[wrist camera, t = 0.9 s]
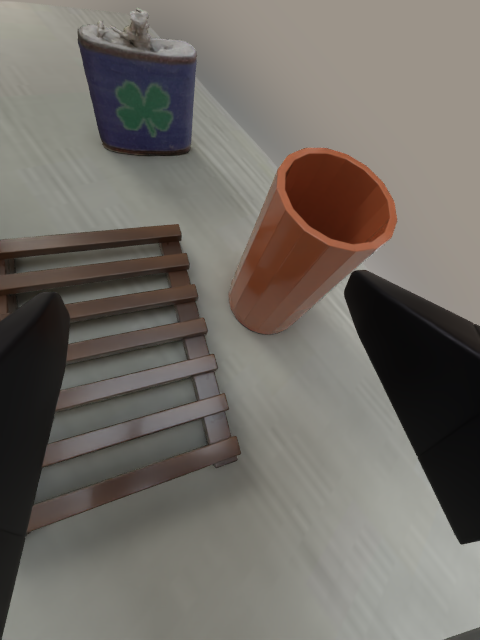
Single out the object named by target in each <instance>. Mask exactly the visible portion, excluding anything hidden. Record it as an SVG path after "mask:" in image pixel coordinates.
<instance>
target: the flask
mask: <svg viewBox="0 0 480 640" xmlns="http://www.w3.org/2000/svg"><path fill="white" fill-rule="evenodd" d="M136 11H138V12H135V11H133V12H130V14H131V25H128V26H126V27H125V28H124V31H121V30H119V29H117V28H116V27H114V26H111V25H110V27H111V28H112V29H111V28H107V27H105V26H104V22H103V21H101V20H100V21H99V22H98V23H97V25H94V24H89V25H83V26H82V27H80V28H79V29H78V44H79V47H80V52H81V56H82V60H83V66H84V70H85V74H86V78H87V82H88V85H89V90H90V96H91V100H92V103H93V107H94V113H95V117H96V121H97V126H98V130H99V133H100V137H101V140H102V142H103V146H104V147H105V148H107V149H109V150H110V151H115V152H119V153H127V154H135V155H179V154H182V153H186V152H188V151H189V149H190V146H191V135H192V117H193V101H194V87H195V72H196V57H197V53H196V50H195V49H194V48H193V46H191V45H190V44H189V43H188V42H185V41H182V40H169V39H160V38H151V36H150V34H149V33H148V30H147V28H149V24H148V21H147V19H148V18H149V14H148V13H147V12H146V11H143V10H141V9H140V8H137V9H136Z"/></svg>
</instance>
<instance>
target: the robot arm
mask: <svg viewBox="0 0 480 640" xmlns="http://www.w3.org/2000/svg"><path fill="white" fill-rule="evenodd" d="M344 297H345V300H346V303H347V305H348V308H349V311H350V314H351V317H352V320H353V322H354V325H355V328H356V331H357V333H358V335H359V338H360V340H361V342H362V344H363V346H364V348H365V350H366V352H367V354H368V356H369V358H370V360H371V363H372V365H373V367H374V369H375V371H376V373H377V375H378V377H379V379H380V381H381V383H382V385H383V387H384V389H385V391H386V393H387V395H388V398H389V400H390V402H391V404H392V406H393V408H394V410H395V412H396V414H397V416H398V418H399V420H400V422H401V424H402V426H403V428H404V430H405V432H406V435H407V437H408V439H409V441H410V443H411V445H412V447H413V449H414V451H415V453H416V455H417V456H418V460H419V462H420V464H421V466H422V468H423V470H424V472H425V474H426V476H427V478H428V480H429V482H430V484H431V486H432V488H433V490H434V493H435V495H436V497H437V499H438V501H439V503H440V505H441V507H442V509H443V511H444V513H445V515H446V517H447V519H448V521H449V523H450V526H451V528H452V530H453V532H454V534H455V536H456V537H457V539H458V541H459V543H460V544H461V545H462V544H467V543H471V542H476V541H480V326H478V325H476V324H473V323H472V322H470V321H468V320H466V319H464V318H462V317H460V316H458V315H456V314H454V313H452V312H450V311H448V310H446V309H444V308H442V307H440V306H438V305H436V304H434V303H432V302H430V301H428V300H426V299H424V298H422V297H420V296H418V295H415V294H413V293H411V292H409V291H407V290H405V289H403V288H401V287H399V286H397V285H395V284H393V283H391V282H389V281H387V280H385V279H383V278H381V277H379V276H377V275H375V274H373V273H371V272H369V271H367V270H357V271H353V272H352V273H351V276H350V278H349V280H348V283H347V285H346V288H345V291H344ZM69 328H70V315H69V312H68V310H67V308H66V306H65V304H64V303H63V301H62V299H61V297H60V295H59V294H58V293H57V292H42V293H39V294H37V295H36V296H34V297H33V298H32V299H30V300H29V301H28V302H26V303H25V304H23V305H22V306H21V307H19V308H18V309H17V310H15V311H14V312H12V313H11V314H10V315H8V316H7V317H6V318H4V319H3V320H1V321H0V640H2V635H3V631H4V627H5V623H6V618H7V614H8V610H9V606H10V602H11V597H12V593H13V589H14V585H15V580H16V576H17V572H18V568H19V564H20V559H21V555H22V551H23V547H24V542H25V536H26V533H27V529H28V524H29V520H30V516H31V512H32V507H33V503H34V499H35V495H36V491H37V486H38V482H39V478H40V474H41V469H42V465H43V461H44V457H45V452H46V448H47V444H48V440H49V436H50V431H51V427H52V423H53V419H54V414H55V410H56V406H57V402H58V397H59V393H60V389H61V385H62V380H63V376H64V372H65V367H66V359H67V349H68V339H69ZM444 640H480V627H479V628H476V629H473V630H470V631H467V632H464V633H461V634H458V635H455V636H452V637H450V638H447V639H444Z"/></svg>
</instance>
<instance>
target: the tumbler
mask: <svg viewBox="0 0 480 640" xmlns="http://www.w3.org/2000/svg"><path fill="white" fill-rule="evenodd" d="M396 223H397V215H396V209H395V203H394V200H393V198H392V197H391V195H390V193H389V191H388V190H387V188H386V187H385V184H384V183H383V182H382V181H381V180H380V179H379V178H378V177H377V176H376V175H375V174H374V173H373V172H372V171H371V170H370V169H369V168H368V167H367V166H366V165H364V164H362V163H361V162H359V161H357V160H355V159H354V158H352V157H351V156H349V155H347V154H344V153H341V152H338V151H334V150H331V149H328V148H304V149H301V150H299V151H297V152H294V153H292V154H290V155H288V156H287V157H286V159H285V160H284V161H283V163H282V164H281V166H280V167H279V168H278V170H277V173H276V175H275V178H274V180H273V182H272V185H271V187H270V190H269V192H268V195H267V197H266V199H265V202H264V204H263V207H262V209H261V212H260V214H259V216H258V219H257V221H256V224H255V226H254V229H253V231H252V233H251V236H250V238H249V241H248V243H247V246H246V248H245V251H244V253H243V255H242V258H241V260H240V263H239V265H238V268H237V270H236V272H235V275H234V277H233V280H232V282H231V286H230V290H229V303H230V307H231V310H232V312H233V314H234V315H235V317H236V318H237V319H238V321H239V322H240V323H241V324H243V325H244V326H245V327H247V328H248V329H250V330H252V331H254V332H257V333H261V334H276V333H280V332H282V331H284V330H286V329H287V328H289V327H290V326H291V325H292V324H293V323H295V322H296V321H297V320H298V319H299V318H300V317H302V316H303V315H304V314H305V313H306V312H307V311H308V310H310V309H311V308H312V307H313V306H314V305H315V304H316V303H318V302H319V301H320V300H321V299H322V298H323V297H324V296H326V295H327V294H328V293H329V292H330V291H331V290H332V289H334V288H335V287H336V286H337V285H338V284H339V283H340V282H342V281H343V280H344V279H345V278H346V277H347V276H348V275H350V274H351V273H352V272H353V271H354V270H355V269H356V268H358V267H359V266H360V265H361V264H362V263H363V262H364V261H366V260H367V259H368V258H369V257H370V256H371V255H372V254H374V253H375V252H376V251H377V250H378V249H379V248H380V247H382V246H383V245H384V244H385V243H386V242H387V241H388V240H390V239H391V237H392V235H393V231H394V229H395V226H396Z"/></svg>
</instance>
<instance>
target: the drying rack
mask: <svg viewBox="0 0 480 640" xmlns="http://www.w3.org/2000/svg"><path fill="white" fill-rule="evenodd" d="M181 236H182V235H181V231H180V227H179V224H174V225H163V226H151V227H140V228H128V229H117V230H105V231H94V232H82V233H71V234H59V235H48V236H36V237H25V238H13V239H2V240H0V321H1V320H3V319H4V318H6V317H7V316H8V315H10V314H11V313H12V312H14V311H15V310H17V295H16V293H23V292H30V291H37V290H45V289H52V288H59V287H66V286H73V285H81V284H88V283H95V282H102V281H109V280H117V279H124V278H131V277H138V276H146V275H153V274H160V273H166V275H167V279H168V283H169V287H170V288H167V289H160V290H154V291H148V292H141V293H135V294H128V295H122V296H116V297H109V298H103V299H96V300H90V301H84V302H77V303H71V304H65V306H66V308H67V310H68V312H69V315H70V323H72V322H78V321H83V320H89V319H95V318H100V317H106V316H112V315H118V314H123V313H129V312H135V311H140V310H146V309H152V308H158V307H163V306H169V305H174V308H175V312H176V316H177V320H178V323H173V324H168V325H163V326H158V327H153V328H148V329H143V330H137V331H132V332H127V333H122V334H117V335H112V336H107V337H102V338H97V339H92V340H86V341H81V342H76V343H71V344H68V349H67V359H66V364H71V363H76V362H80V361H85V360H90V359H94V358H99V357H104V356H108V355H113V354H117V353H122V352H127V351H131V350H136V349H141V348H145V347H150V346H155V345H159V344H164V343H168V342H173V341H178V340H182V341H183V345H184V349H185V353H186V357H187V360H185V361H181V362H177V363H173V364H169V365H165V366H160V367H156V368H152V369H148V370H144V371H140V372H135V373H131V374H127V375H123V376H119V377H114V378H110V379H106V380H102V381H98V382H94V383H89V384H85V385H81V386H77V387H73V388H69V389H64V390H60V393H59V397H58V402H57V406H56V410H55V413H56V412H60V411H64V410H67V409H71V408H75V407H79V406H83V405H87V404H91V403H94V402H98V401H102V400H106V399H110V398H114V397H117V396H121V395H125V394H129V393H133V392H137V391H140V390H144V389H148V388H152V387H156V386H160V385H164V384H167V383H171V382H175V381H179V380H183V379H187V378H190V377H191V378H192V382H193V386H194V390H195V394H196V399H197V401H195V402H192V403H188V404H185V405H181V406H178V407H174V408H171V409H167V410H164V411H160V412H157V413H153V414H150V415H146V416H143V417H140V418H136V419H133V420H129V421H126V422H122V423H119V424H115V425H112V426H108V427H105V428H101V429H98V430H95V431H91V432H88V433H84V434H81V435H77V436H74V437H70V438H67V439H63V440H60V441H56V442H53V443H49V444H47V448H46V452H45V457H44V461H43V465H42V468H43V467H46V466H49V465H52V464H56V463H59V462H62V461H65V460H69V459H72V458H75V457H78V456H81V455H85V454H88V453H91V452H94V451H98V450H101V449H104V448H107V447H111V446H114V445H117V444H120V443H123V442H127V441H130V440H133V439H136V438H140V437H143V436H146V435H149V434H152V433H156V432H159V431H162V430H165V429H169V428H172V427H175V426H178V425H182V424H185V423H188V422H191V421H194V420H198V419H202V423H203V427H204V432H205V436H206V440H207V444H208V445H206V446H203V447H200V448H197V449H194V450H191V451H188V452H185V453H182V454H179V455H176V456H174V457H171V458H168V459H165V460H162V461H159V462H156V463H153V464H150V465H147V466H144V467H141V468H139V469H136V470H133V471H130V472H127V473H124V474H121V475H118V476H115V477H112V478H109V479H106V480H103V481H101V482H98V483H95V484H92V485H89V486H86V487H83V488H80V489H77V490H74V491H71V492H68V493H65V494H63V495H60V496H57V497H54V498H51V499H48V500H45V501H42V502H39V503H36V504H33V507H32V512H31V516H30V520H29V524H28V529H27V533H26V536H27V535H28V534H29V533H30V532H31V531H33V530H36V529H38V528H41V527H44V526H47V525H49V524H52V523H55V522H58V521H60V520H63V519H66V518H68V517H71V516H74V515H77V514H79V513H82V512H85V511H87V510H90V509H93V508H96V507H98V506H101V505H104V504H107V503H109V502H112V501H115V500H117V499H120V498H123V497H126V496H128V495H131V494H134V493H137V492H139V491H142V490H145V489H147V488H150V487H153V486H156V485H158V484H161V483H164V482H167V481H169V480H172V479H175V478H177V477H180V476H183V475H186V474H188V473H191V472H194V471H196V470H199V469H202V468H205V467H207V466H210V465H213V466H214V467H215V468H218V467H221V466H224V465H226V464H229V463H232V462H234V461H237V460H238V459H237V455H240V454H241V451H240V447H239V443H238V440H237V437H236V436H232V437H231V433H230V429H229V426H228V422H227V418H226V414H225V411H227V410H229V407H228V403H227V400H226V396H225V394H224V393H223V394H220V392H219V388H218V385H217V381H216V377H215V373H214V371H216V370H217V369H218V367H217V363H216V359H215V356H214V354H210V355H209V351H208V347H207V344H206V340H205V336H204V335H206V334H207V332H208V330H207V326H206V323H205V319H204V318H200V317H199V314H198V310H197V306H196V303H195V301H197V300H198V294H197V290H196V286H195V284H192V285H191V284H190V280H189V276H188V273H187V270H188V269H189V265H190V264H189V261H188V257H187V254H186V253H182V250H181V247H180V243H179V241H181ZM154 243H159V246H160V250H161V254H162V256H157V257H149V258H141V259H132V260H124V261H116V262H107V263H99V264H91V265H82V266H74V267H66V268H57V269H49V270H41V271H32V272H24V273H16V274H15V261H14V258H21V257H30V256H40V255H49V254H59V253H68V252H78V251H87V250H97V249H106V248H116V247H125V246H135V245H144V244H154Z"/></svg>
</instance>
